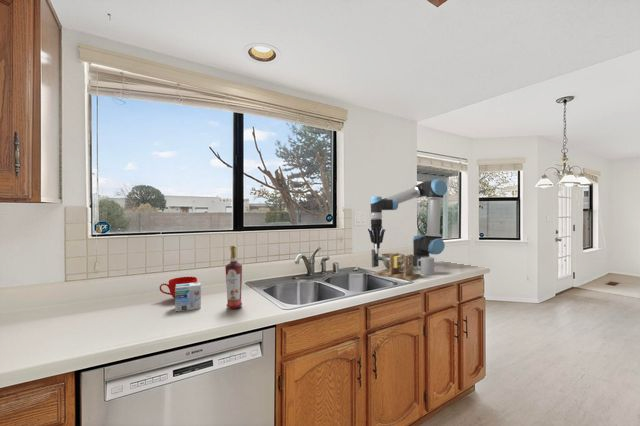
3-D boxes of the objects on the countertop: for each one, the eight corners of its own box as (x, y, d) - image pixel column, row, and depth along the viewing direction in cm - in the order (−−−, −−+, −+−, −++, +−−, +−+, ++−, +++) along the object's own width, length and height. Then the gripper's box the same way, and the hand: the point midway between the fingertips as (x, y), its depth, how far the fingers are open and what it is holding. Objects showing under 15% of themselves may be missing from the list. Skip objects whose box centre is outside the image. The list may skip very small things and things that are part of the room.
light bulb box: (175, 312, 130) (174, 287, 130) (175, 307, 136) (175, 284, 136) (201, 308, 134) (201, 284, 134) (200, 304, 140) (200, 281, 140)
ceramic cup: (160, 298, 150) (160, 279, 150) (197, 294, 157) (196, 275, 157) (158, 306, 139) (158, 284, 138) (198, 301, 146) (197, 280, 145)
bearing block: (420, 276, 191) (420, 254, 191) (410, 280, 181) (410, 257, 181) (385, 271, 209) (385, 251, 209) (374, 274, 199) (373, 253, 199)
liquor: (244, 304, 139) (243, 244, 138) (240, 310, 131) (239, 246, 131) (228, 305, 138) (227, 244, 138) (223, 310, 131) (222, 246, 131)
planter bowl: (409, 270, 213) (409, 254, 213) (394, 273, 204) (393, 257, 204) (392, 266, 226) (392, 252, 226) (377, 269, 217) (376, 254, 217)
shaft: (409, 270, 192) (409, 251, 192) (405, 271, 188) (405, 252, 188) (376, 265, 209) (376, 248, 209) (371, 267, 205) (371, 249, 205)
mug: (436, 274, 199) (436, 257, 199) (429, 275, 193) (429, 258, 193) (421, 271, 208) (420, 255, 208) (413, 273, 203) (413, 256, 203)
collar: (402, 266, 197) (401, 255, 196) (396, 268, 191) (396, 257, 191) (397, 265, 199) (397, 255, 199) (392, 267, 193) (392, 256, 193)
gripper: (365, 219, 207) (365, 253, 207) (381, 219, 198) (382, 254, 198) (371, 218, 213) (371, 251, 213) (387, 218, 204) (388, 253, 204)
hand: (376, 253), depth 206 cm, fingers closed
